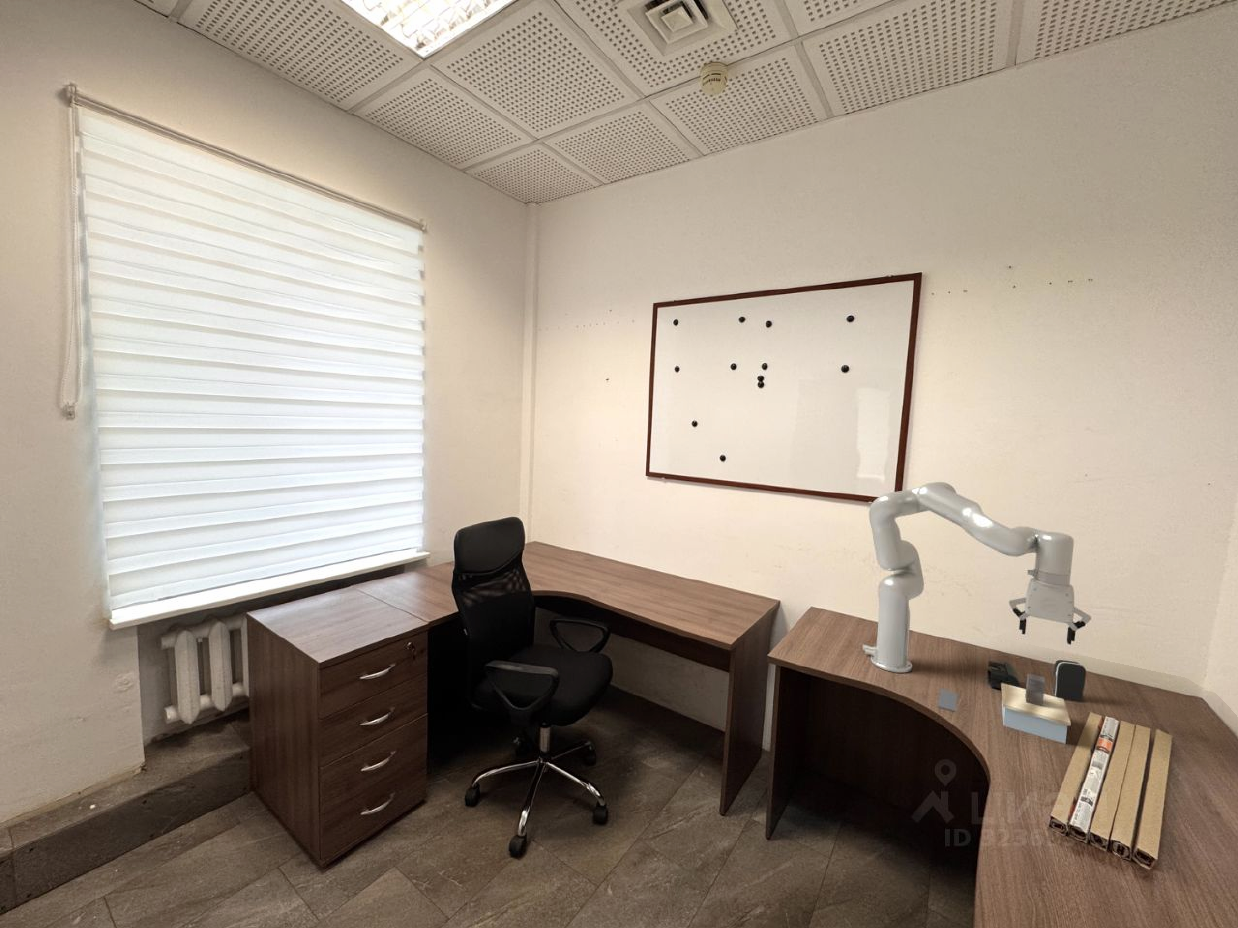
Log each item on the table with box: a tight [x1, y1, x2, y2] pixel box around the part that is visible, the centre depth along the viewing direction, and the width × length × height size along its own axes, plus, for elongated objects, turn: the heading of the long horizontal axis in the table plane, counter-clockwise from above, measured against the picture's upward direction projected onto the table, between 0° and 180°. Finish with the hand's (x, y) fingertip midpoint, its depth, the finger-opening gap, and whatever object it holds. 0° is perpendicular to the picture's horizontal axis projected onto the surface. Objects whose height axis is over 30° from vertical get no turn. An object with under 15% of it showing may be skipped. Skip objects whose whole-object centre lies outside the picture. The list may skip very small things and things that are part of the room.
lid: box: [1001, 673, 1072, 727], centre depth 141 cm, size 14×14×9 cm
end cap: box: [986, 661, 1021, 690], centre depth 161 cm, size 10×7×7 cm
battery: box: [1053, 659, 1087, 702], centre depth 156 cm, size 7×4×11 cm, turn 73°
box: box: [1001, 700, 1068, 745], centre depth 141 cm, size 13×13×6 cm
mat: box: [937, 687, 958, 713], centre depth 151 cm, size 10×12×1 cm
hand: (1045, 637), depth 140 cm, fingers open, 9 cm apart
